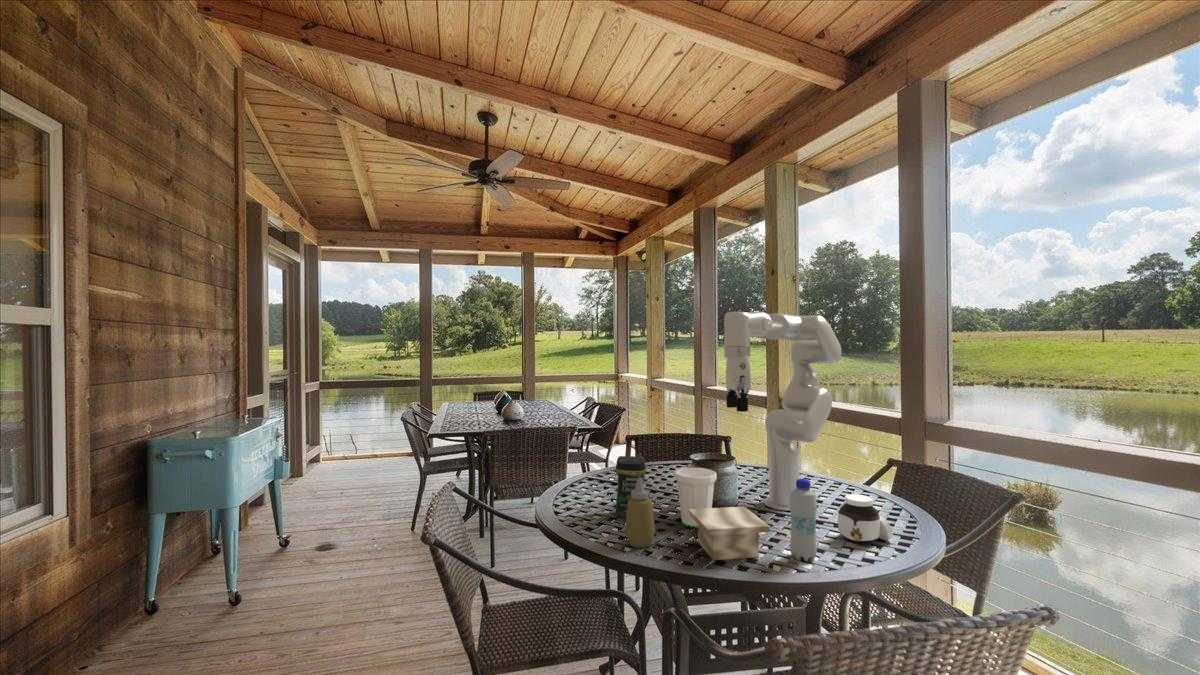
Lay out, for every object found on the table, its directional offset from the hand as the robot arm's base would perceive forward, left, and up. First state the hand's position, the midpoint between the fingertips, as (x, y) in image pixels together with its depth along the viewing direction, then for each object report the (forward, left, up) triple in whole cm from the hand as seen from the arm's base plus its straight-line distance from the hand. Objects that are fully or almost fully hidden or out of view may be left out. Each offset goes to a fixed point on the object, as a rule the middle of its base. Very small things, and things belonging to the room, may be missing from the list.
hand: (736, 409), depth 164 cm
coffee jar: (+31, -12, -34) cm, 47 cm away
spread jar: (-29, +18, -34) cm, 49 cm away
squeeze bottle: (+33, +12, -34) cm, 49 cm away
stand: (+11, +19, -34) cm, 41 cm away
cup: (+13, -2, -34) cm, 37 cm away
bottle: (-6, +27, -34) cm, 44 cm away
